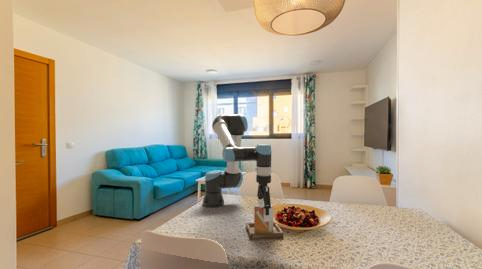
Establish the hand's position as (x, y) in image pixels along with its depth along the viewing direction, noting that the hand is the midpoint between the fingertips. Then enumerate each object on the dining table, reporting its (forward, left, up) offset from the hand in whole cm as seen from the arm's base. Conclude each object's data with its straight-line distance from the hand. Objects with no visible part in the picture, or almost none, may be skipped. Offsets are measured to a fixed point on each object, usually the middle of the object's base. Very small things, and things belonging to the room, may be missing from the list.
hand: (263, 216), depth 118 cm
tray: (0, 0, -8) cm, 8 cm away
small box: (+1, 0, -8) cm, 8 cm away
